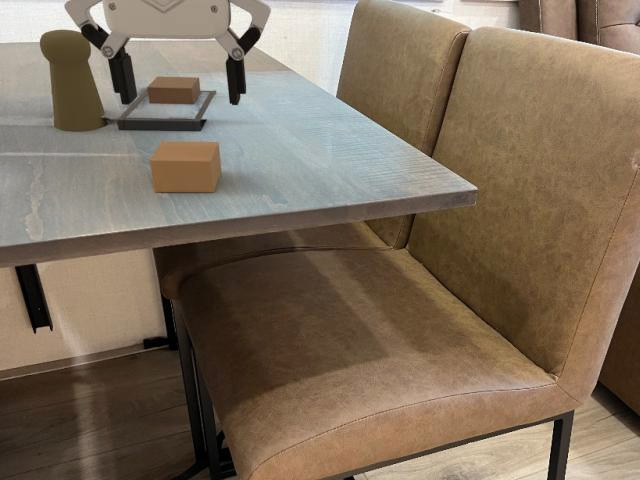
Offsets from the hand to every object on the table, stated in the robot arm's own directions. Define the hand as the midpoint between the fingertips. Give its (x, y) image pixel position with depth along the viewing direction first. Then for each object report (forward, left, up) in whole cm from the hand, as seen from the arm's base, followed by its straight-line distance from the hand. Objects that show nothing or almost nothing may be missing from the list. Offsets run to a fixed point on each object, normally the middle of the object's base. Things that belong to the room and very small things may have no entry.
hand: (183, 101), depth 60 cm
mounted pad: (-6, +28, -8) cm, 29 cm away
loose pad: (0, 0, -8) cm, 8 cm away
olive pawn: (-16, +18, -8) cm, 26 cm away
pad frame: (-6, +24, -8) cm, 26 cm away
